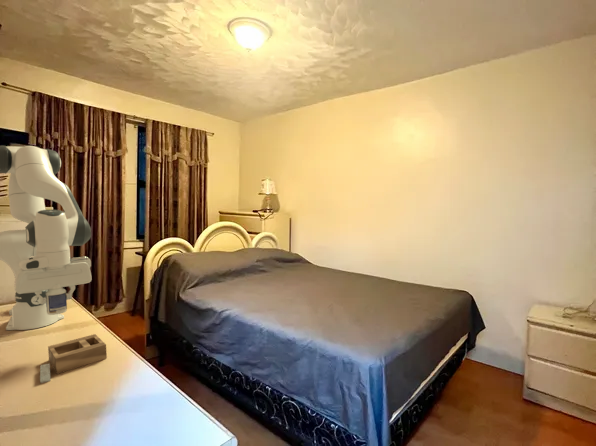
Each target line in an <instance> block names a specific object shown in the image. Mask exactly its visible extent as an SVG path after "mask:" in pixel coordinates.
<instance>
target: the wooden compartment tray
mask: <svg viewBox="0 0 596 446" xmlns="http://www.w3.org/2000/svg"><path fill="white" fill-rule="evenodd" d="M47 348H48V349H47V350H48V351H47V352H48V361H49V363H50V366H52V368H53V369H54V372H55V373H56V374H57V375H58V374H60V373H64V372H67V371H71V370H74V369H76V368H79V367H84V366H86V365H89V364H93V363H96V362H99V361H102V360H106V359H107V358H108V356H107V344H106V343H105V342H104V341H103V340H102V339H101V338H100V337H99V336H98V335H97V334H95V333H93V334H91V335H86V336H83V337H79V338H78V337H77V338H75V339H72V340H67V341H64V342H59V343H56V344H52V345H48V346H47Z"/></svg>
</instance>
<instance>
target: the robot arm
mask: <svg viewBox="0 0 596 446" xmlns="http://www.w3.org/2000/svg"><path fill="white" fill-rule="evenodd" d="M61 167H62V160H61V157H60V155H59V153H58V152H57V151H55V150H53V149H49V148H40V147H39V146H35V145H34V146H33V145H25V146H14V145H13V146H11V145H10V146H9V145H7V146H6V145H0V174H5V175H6V174H10V175H9V178H8V179H9V181H8V200H9V212H10V215H11V216H12V217H13V218H14V219H16V220H17V221H21V222H24V223H27V225H26V226H25V229H13V230H11V229H10V230H4V231H0V261H2V262H4V263H5V264H6V265H8V266H9V268H10V269H11V271H12V272H13V275H14V291H15V294H14V298H15V302H16V303H15V304H14V305H13V306H12V308H11V309H9V310H8V311H9V312H8V314H9V316H10V319H9V321H8V323H7V324H6V326H5V330H6V331H13V330H14V331H15V330H16V331H17V330H18V331H19V330H20V331H23V330H24V331H27V330H34V329H38V328H43V327H46V326H49V325H51V324H54V323H56V322H58V321H60V320H62V319H65V315H64V314H63V313H61V314H56V315H49V314H47V307H46V303H47V298H46V292H47V291H48V290H49V289H53V287H54V286H53V285H56V284H60V287H62V288H65V287H66V288H67V287H68V288H69V289H70V290H69V291H68V292H66V300H67V301H68V300H72V299H73V293H74V291H75V290H76V286H77V285H85V284H89V283H90V282H92V280H93V279H92V272H91V267H92V261H91V258H89V257H88V256H84V255H83V256H78V257H77V256H76V257H74V256H73V257H71V249H70V246H71V247H75V246H76V247H77V246H78V247H79V246H80V247H81V246H83V245H85V244H86V243H87V242H89V241H90V240H91V237H92V228H91V226H90V223H89V221H88V220H87V219H86V217H84V214H83V212H82V210H81V209H80V207H79V204H78V202H77V200H76V198H75V196H74V194H73V192H72V191H71V189H70V187H69V186H68V184H67V183H64V182H62V181H60V179H59V178H57V176H56V174H58V173H59V172H60V169H61ZM45 200H49V201H52V202H55V203H57V204H59V205H60V206H61V207H62V209H63V210H60V209H59V210H58V209H46V205H45Z"/></svg>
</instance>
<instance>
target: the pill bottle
mask: <svg viewBox="0 0 596 446" xmlns="http://www.w3.org/2000/svg"><path fill="white" fill-rule="evenodd" d="M53 286H54V287H53V289H49V290H48V291H47V292H46V298H47V303H46V307H47V314H49V315H56V314H64V313H66V312H67V311H68V303H67V301H68V300H66V294H67V290H66V289H65V288H64V287H60V284H56V285H53Z"/></svg>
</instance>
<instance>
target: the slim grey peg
mask: <svg viewBox="0 0 596 446" xmlns="http://www.w3.org/2000/svg"><path fill="white" fill-rule="evenodd" d="M39 370H40V371H39V372H40V373H39V374H40V375H39V381H40V382H39V383H40V384H43V383H47V382H51V363H50V362H49V363H45V364H41V365H40V368H39Z"/></svg>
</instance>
